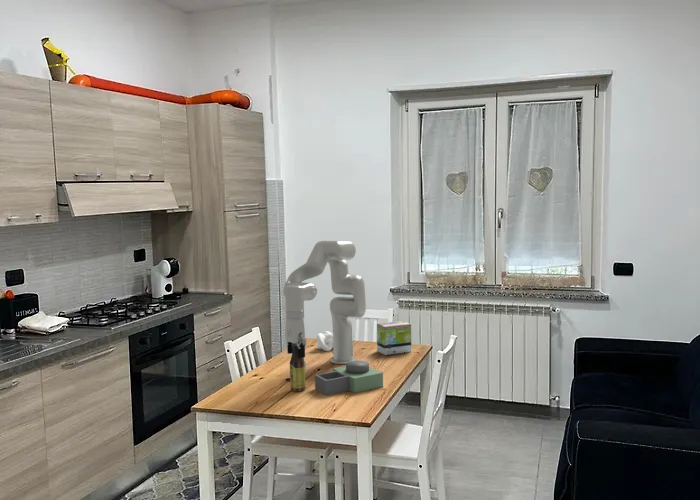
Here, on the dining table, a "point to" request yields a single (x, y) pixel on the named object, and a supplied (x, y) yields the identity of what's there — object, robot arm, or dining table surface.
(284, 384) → the dining table surface
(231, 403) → the dining table surface
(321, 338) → the white knot sculpture
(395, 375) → the dining table surface
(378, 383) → the grey and green blocks
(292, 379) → the sauce bottle
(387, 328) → the tea box
